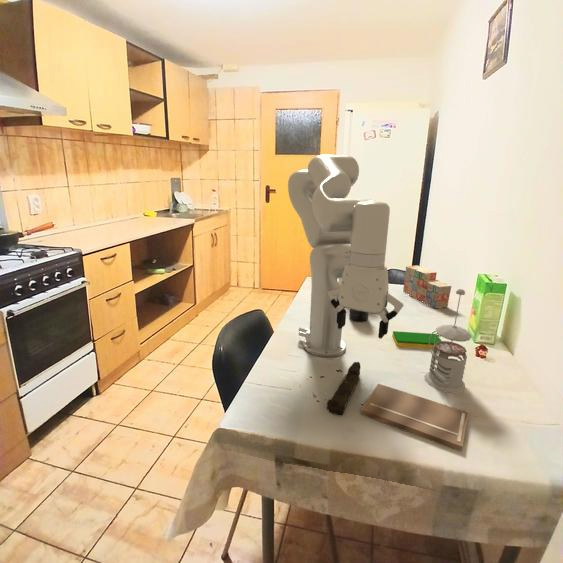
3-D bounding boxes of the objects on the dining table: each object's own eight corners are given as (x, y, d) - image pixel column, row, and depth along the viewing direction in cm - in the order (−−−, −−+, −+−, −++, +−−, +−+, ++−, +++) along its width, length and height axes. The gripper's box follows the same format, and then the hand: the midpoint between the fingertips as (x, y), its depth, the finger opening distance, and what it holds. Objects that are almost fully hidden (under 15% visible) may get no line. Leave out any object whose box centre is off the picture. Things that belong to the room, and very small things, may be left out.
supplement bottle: (371, 321, 127) (375, 289, 123) (355, 323, 125) (358, 291, 121) (361, 314, 133) (363, 283, 129) (345, 316, 131) (347, 285, 127)
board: (361, 414, 78) (361, 409, 77) (377, 387, 88) (378, 383, 87) (461, 451, 68) (462, 446, 67) (467, 416, 78) (468, 411, 77)
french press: (441, 395, 85) (459, 297, 78) (411, 370, 96) (425, 282, 88) (474, 389, 88) (495, 294, 80) (442, 365, 98) (457, 279, 91)
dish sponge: (391, 337, 116) (392, 330, 115) (435, 340, 114) (436, 333, 114) (396, 347, 109) (397, 340, 108) (442, 351, 107) (444, 343, 107)
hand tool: (342, 419, 77) (344, 400, 75) (325, 412, 78) (327, 394, 77) (368, 377, 92) (369, 362, 91) (353, 373, 94) (354, 357, 93)
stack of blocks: (448, 307, 142) (453, 278, 138) (435, 309, 140) (439, 279, 136) (414, 291, 161) (417, 264, 158) (402, 292, 159) (405, 265, 156)
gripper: (323, 257, 79) (320, 328, 83) (403, 268, 70) (394, 346, 75) (336, 252, 85) (332, 318, 89) (411, 261, 76) (402, 334, 81)
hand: (360, 331), depth 82 cm, fingers open, 9 cm apart
